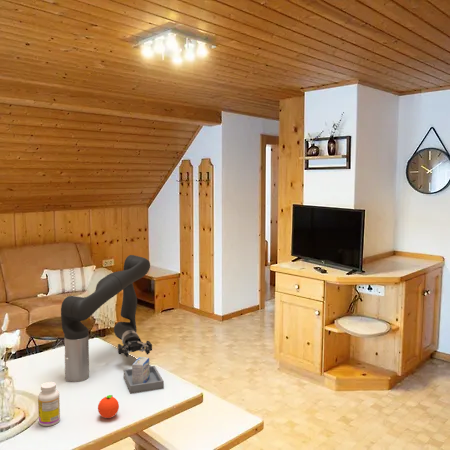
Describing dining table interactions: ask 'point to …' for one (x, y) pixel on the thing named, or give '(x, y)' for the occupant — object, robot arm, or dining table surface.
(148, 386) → the tray
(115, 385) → the dining table surface
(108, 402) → the clementine
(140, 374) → the medicine box
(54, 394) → the supplement bottle
